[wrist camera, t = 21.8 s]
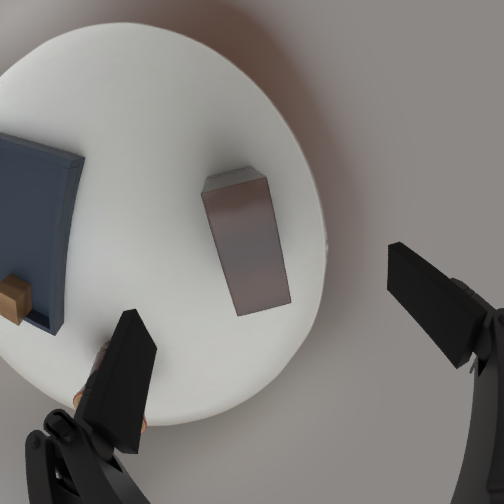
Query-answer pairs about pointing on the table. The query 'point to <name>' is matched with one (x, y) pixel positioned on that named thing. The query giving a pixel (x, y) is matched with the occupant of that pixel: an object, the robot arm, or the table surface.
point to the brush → (247, 239)
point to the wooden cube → (15, 299)
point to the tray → (37, 222)
